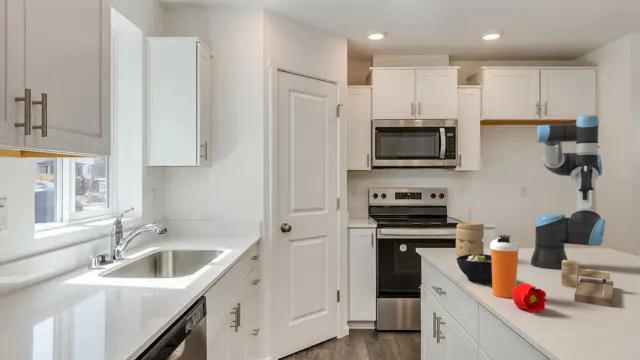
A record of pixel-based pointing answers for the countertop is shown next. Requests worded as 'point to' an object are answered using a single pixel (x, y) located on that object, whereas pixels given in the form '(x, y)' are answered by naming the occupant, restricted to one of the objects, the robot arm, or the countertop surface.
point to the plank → (594, 292)
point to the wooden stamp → (579, 273)
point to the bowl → (476, 267)
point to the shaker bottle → (504, 265)
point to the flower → (529, 297)
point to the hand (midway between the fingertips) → (586, 207)
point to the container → (469, 238)
